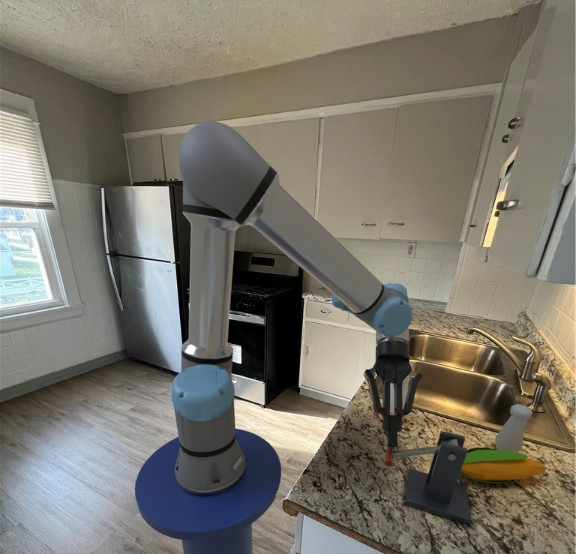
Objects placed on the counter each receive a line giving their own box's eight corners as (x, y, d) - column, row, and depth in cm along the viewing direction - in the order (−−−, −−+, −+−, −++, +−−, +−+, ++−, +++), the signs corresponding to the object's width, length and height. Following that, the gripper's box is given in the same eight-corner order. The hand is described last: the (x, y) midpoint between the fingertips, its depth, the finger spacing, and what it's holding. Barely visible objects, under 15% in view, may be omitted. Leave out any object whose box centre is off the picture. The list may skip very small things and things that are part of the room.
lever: (386, 469, 65) (382, 459, 65) (389, 451, 70) (386, 442, 70) (461, 462, 58) (458, 451, 58) (459, 443, 63) (456, 433, 63)
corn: (454, 439, 72) (540, 441, 72) (445, 463, 76) (527, 465, 76) (470, 463, 66) (564, 465, 66) (459, 488, 69) (549, 490, 70)
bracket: (404, 504, 65) (419, 447, 58) (407, 472, 73) (420, 419, 67) (469, 525, 61) (493, 466, 54) (464, 488, 69) (484, 434, 63)
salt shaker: (518, 460, 78) (538, 417, 72) (492, 452, 80) (509, 409, 75) (517, 447, 82) (536, 405, 77) (492, 439, 85) (508, 398, 79)
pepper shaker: (406, 415, 95) (419, 357, 86) (400, 427, 89) (414, 366, 81) (382, 407, 98) (392, 351, 90) (375, 418, 92) (385, 359, 84)
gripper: (415, 353, 77) (418, 451, 69) (361, 349, 78) (358, 445, 71) (426, 340, 70) (430, 448, 62) (366, 336, 71) (363, 441, 64)
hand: (392, 446), depth 66 cm, fingers closed
